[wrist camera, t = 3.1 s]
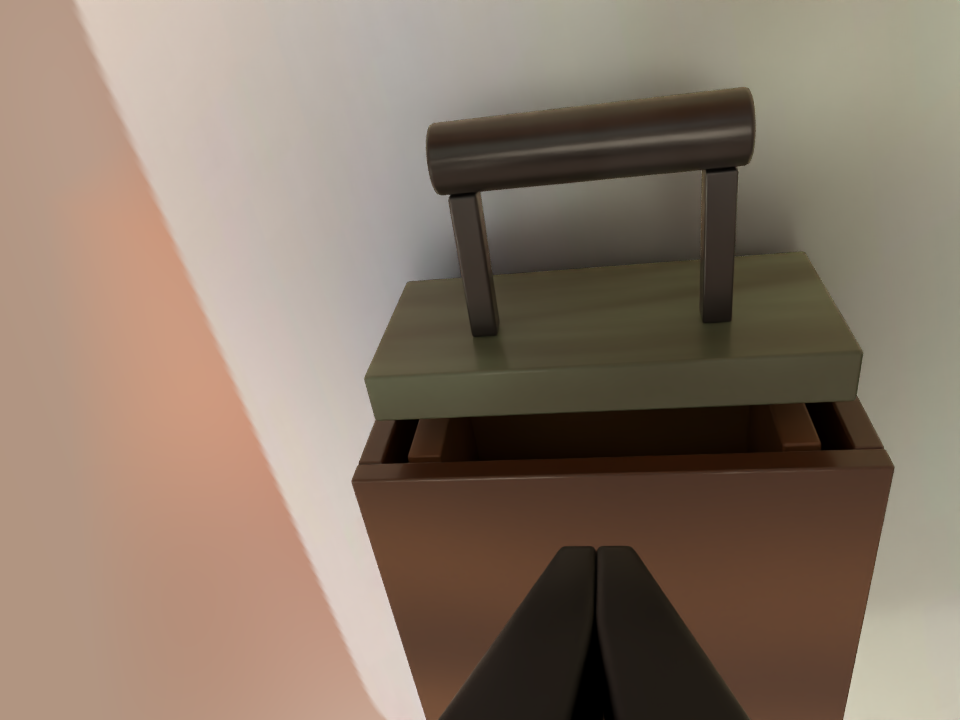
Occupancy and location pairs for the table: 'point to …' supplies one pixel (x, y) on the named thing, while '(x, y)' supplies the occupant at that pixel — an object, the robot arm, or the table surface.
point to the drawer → (610, 307)
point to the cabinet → (643, 551)
